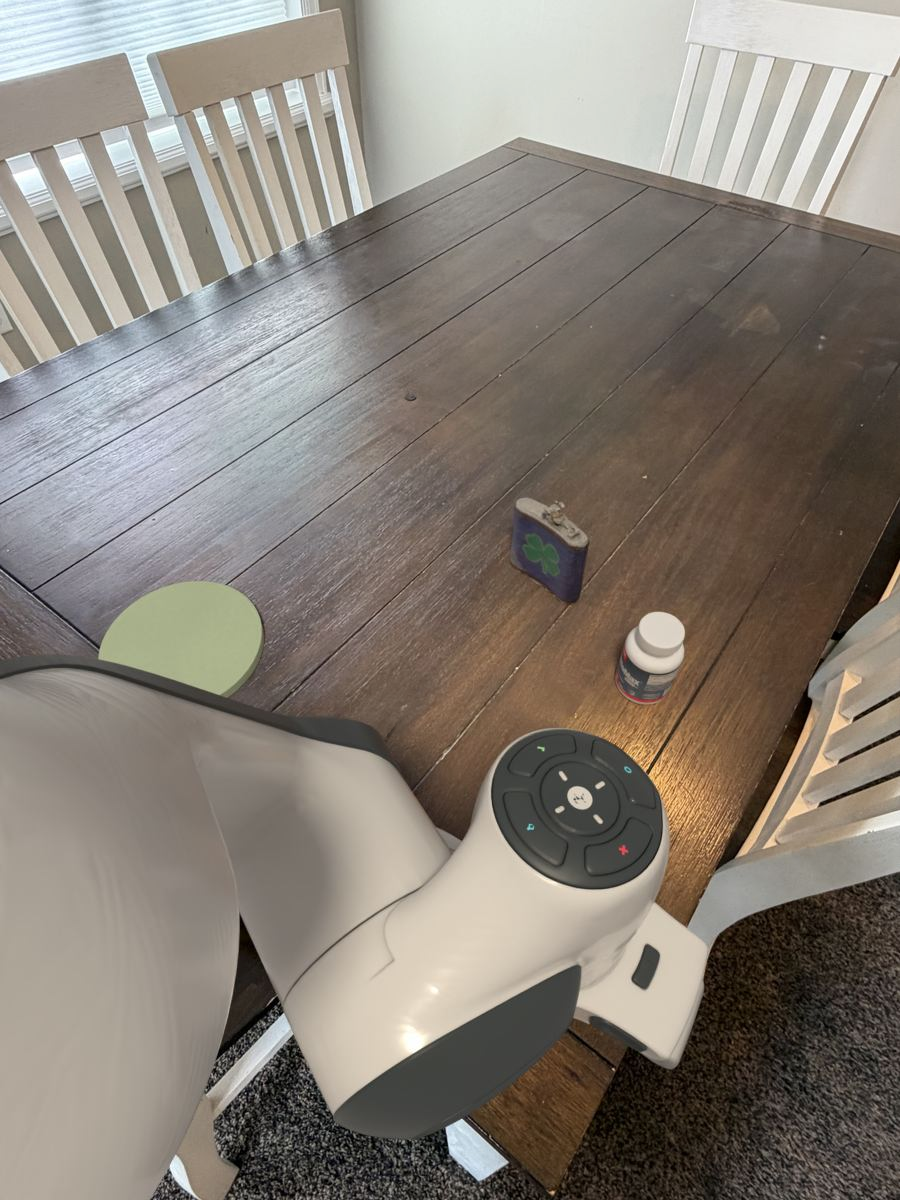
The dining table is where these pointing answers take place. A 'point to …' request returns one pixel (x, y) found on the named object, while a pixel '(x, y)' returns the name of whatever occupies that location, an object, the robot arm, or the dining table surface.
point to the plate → (189, 636)
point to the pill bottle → (651, 658)
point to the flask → (549, 548)
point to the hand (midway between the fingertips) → (527, 967)
